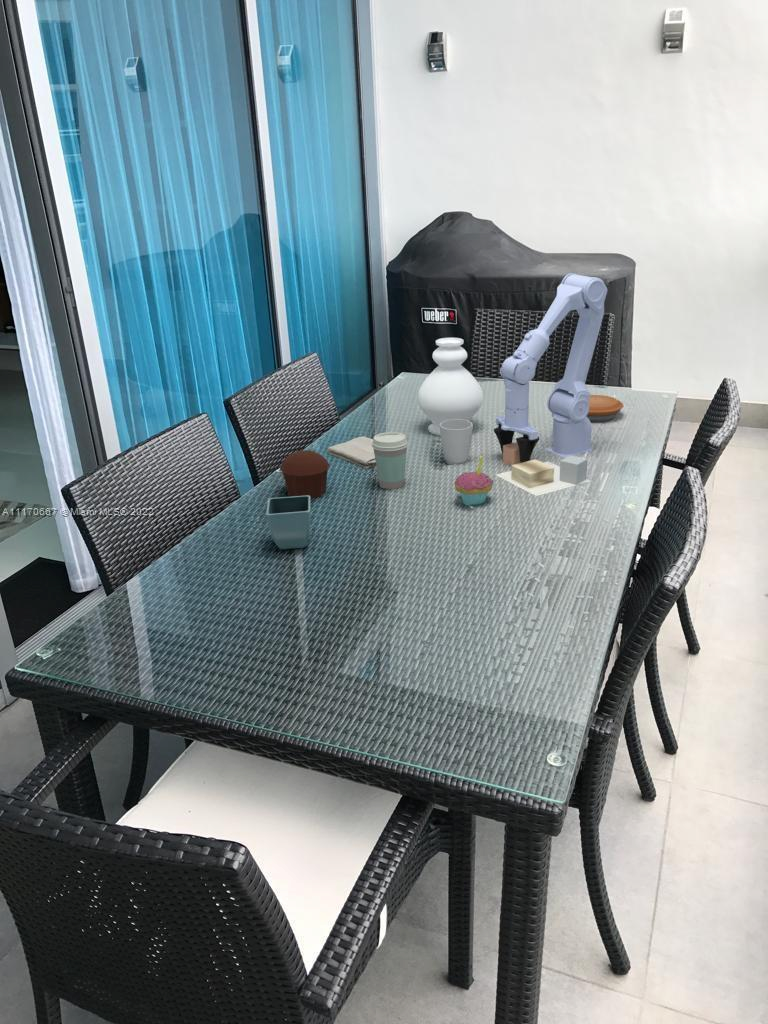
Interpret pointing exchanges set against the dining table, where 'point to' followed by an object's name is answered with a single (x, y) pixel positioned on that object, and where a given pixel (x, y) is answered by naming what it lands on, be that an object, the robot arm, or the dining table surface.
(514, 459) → the terracotta block
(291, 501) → the flower pot
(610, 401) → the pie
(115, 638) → the dining table surface
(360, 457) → the washcloth
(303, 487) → the muffin
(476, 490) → the cupcake
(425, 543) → the dining table surface
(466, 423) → the cup
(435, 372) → the decorative vase
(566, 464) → the grey block
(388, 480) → the coffee cup
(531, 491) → the board
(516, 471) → the maple block
